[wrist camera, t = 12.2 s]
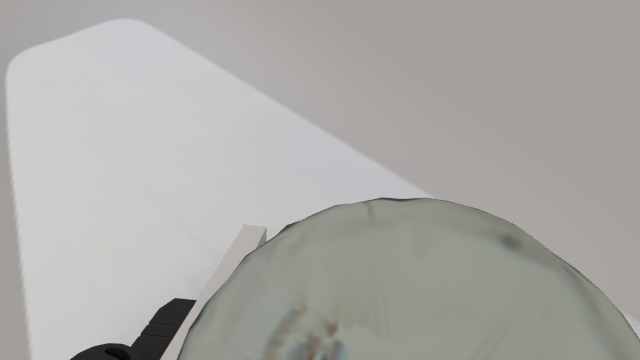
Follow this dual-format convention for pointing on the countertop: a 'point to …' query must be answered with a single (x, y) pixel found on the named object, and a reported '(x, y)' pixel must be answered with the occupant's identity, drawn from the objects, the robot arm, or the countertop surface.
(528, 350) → the sauce bottle
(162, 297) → the countertop surface
